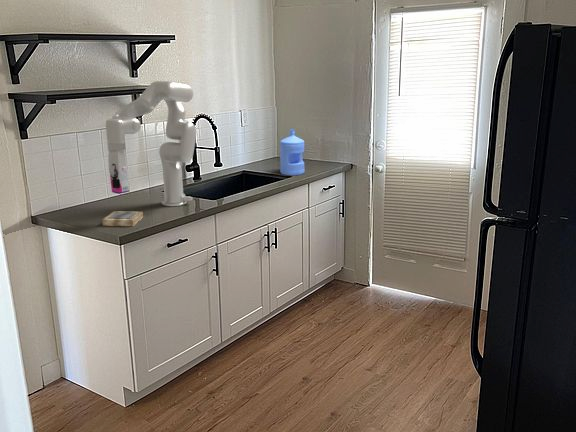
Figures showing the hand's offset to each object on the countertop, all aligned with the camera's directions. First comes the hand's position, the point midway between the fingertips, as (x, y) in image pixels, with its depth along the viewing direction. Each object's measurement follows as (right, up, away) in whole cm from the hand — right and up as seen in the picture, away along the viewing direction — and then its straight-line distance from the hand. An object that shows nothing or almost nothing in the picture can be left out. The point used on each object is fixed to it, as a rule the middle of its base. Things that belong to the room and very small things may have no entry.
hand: (120, 185), depth 252 cm
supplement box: (0, -3, +1) cm, 3 cm away
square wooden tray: (0, -16, +5) cm, 17 cm away
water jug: (+79, +14, +107) cm, 134 cm away
